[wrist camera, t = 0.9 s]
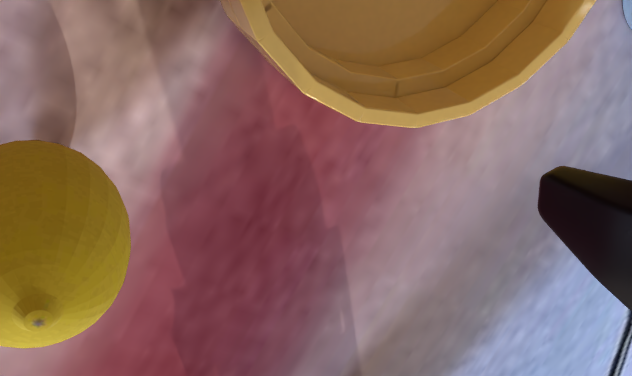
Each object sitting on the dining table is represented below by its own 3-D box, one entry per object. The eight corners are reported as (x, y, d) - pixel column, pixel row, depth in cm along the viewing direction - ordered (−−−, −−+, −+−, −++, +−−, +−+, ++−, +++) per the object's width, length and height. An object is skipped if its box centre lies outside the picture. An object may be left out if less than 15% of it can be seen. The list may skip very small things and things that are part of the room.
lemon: (-92, 207, 20) (-141, 380, 14) (-7, 73, 19) (-19, 191, 13) (63, 262, 23) (82, 421, 17) (142, 150, 22) (191, 274, 16)
